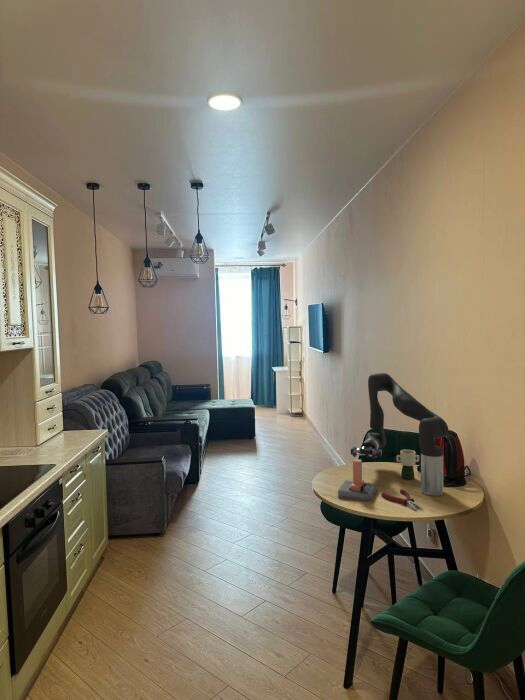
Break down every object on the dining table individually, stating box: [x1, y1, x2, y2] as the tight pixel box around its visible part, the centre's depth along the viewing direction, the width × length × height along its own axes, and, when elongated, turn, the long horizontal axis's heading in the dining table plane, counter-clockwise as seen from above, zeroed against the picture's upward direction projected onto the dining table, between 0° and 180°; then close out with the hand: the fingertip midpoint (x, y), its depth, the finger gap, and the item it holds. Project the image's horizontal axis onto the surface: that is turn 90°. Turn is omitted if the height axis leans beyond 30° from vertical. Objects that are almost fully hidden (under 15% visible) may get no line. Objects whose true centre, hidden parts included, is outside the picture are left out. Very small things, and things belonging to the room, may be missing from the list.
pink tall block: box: [351, 458, 365, 492], centre depth 203 cm, size 4×9×15 cm, turn 156°
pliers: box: [380, 489, 424, 511], centre depth 193 cm, size 12×20×3 cm, turn 18°
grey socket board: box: [337, 479, 377, 502], centre depth 203 cm, size 14×14×3 cm
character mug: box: [396, 449, 420, 480], centre depth 223 cm, size 11×7×13 cm, turn 87°
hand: (363, 455), depth 213 cm, fingers open, 8 cm apart
